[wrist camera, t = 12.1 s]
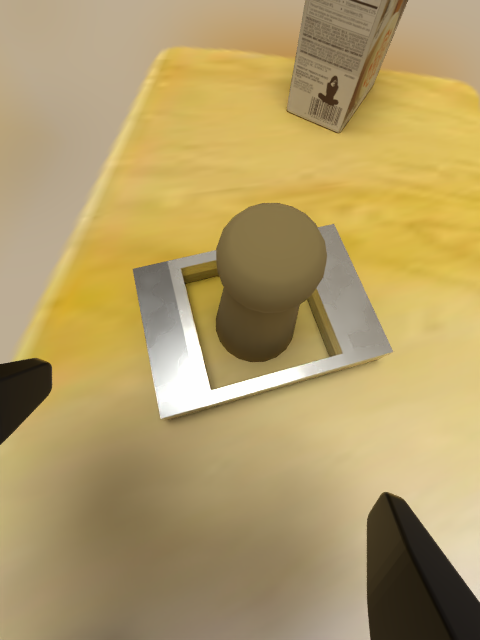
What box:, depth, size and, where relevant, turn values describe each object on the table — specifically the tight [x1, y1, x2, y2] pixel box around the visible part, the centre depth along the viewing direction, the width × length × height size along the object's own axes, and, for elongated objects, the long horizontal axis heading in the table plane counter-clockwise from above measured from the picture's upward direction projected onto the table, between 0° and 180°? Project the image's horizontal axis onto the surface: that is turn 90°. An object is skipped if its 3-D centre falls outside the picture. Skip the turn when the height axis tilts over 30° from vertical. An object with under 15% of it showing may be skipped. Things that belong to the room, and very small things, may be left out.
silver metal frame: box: [133, 224, 393, 420], centre depth 22 cm, size 16×11×2 cm
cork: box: [216, 203, 327, 362], centre depth 18 cm, size 6×6×11 cm
